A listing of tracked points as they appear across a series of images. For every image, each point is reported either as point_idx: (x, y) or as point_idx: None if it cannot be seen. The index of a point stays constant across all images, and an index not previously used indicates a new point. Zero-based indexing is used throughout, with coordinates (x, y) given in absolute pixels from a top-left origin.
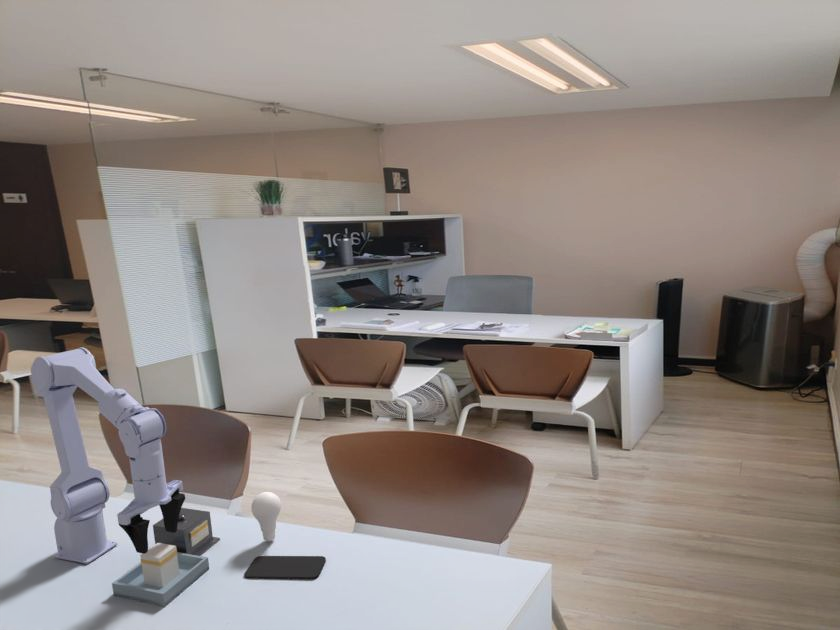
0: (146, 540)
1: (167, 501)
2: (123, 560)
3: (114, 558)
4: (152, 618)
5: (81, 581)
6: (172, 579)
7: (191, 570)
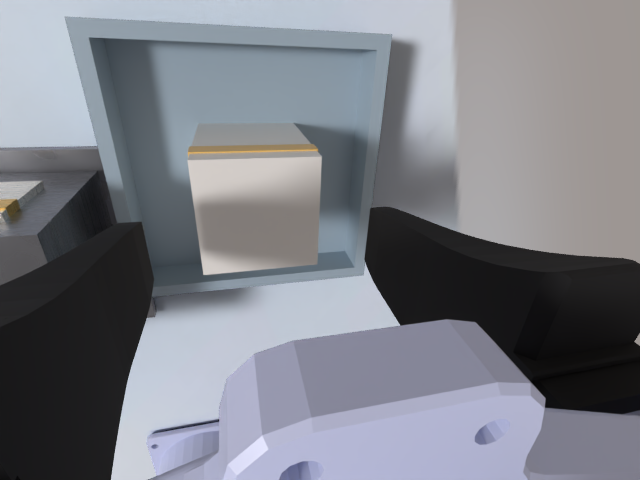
0: (419, 228)
1: (430, 350)
2: (201, 363)
3: (204, 388)
4: (433, 34)
5: None
6: (240, 124)
7: (205, 28)
